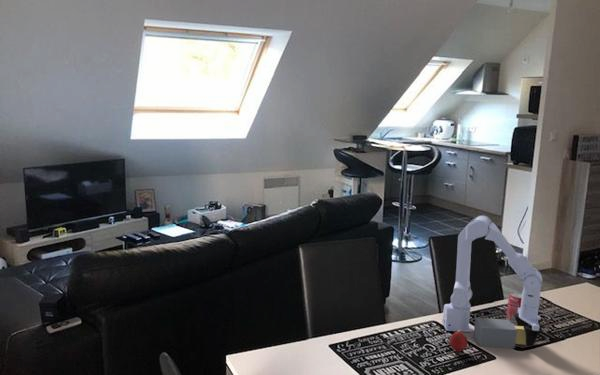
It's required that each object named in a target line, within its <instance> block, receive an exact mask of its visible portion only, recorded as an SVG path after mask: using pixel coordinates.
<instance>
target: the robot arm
mask: <svg viewBox="0 0 600 375" xmlns="http://www.w3.org/2000/svg"><path fill="white" fill-rule="evenodd" d="M483 237H484V240H487V241H492V242H494V244H495V245H496V246H497V247H498V248H499V249H500V250H501V252H503V254H504V255H505V256H506V257H507V258H508V261H507V264H508V265H509V267H511V269H512V270H513V271H514V272H515V273H516V274H517V276H518V277H519V278H520V279H522V285H523V288H522V289H523V290H522V292H521V294H522V299H521V307H520V308H518V313H519V314H518V315H514V317H515V320H516V323H517V326H524V330H525V334H526V345H525V346H526V347H533V346H534V345H535V343H536V340H537V339H538V337H539V336H540V334H541V333H542V332H543V329H542V328H541V327H540V324H539V321H541V316H539V315H538V314H539V308H540V300H541V299H540V297H541V288H542V284H543V276H542V274H541V272H540V271H539V270H538V269H537V268H536V267H534V266H532V264H531V263H530V262H529V258H528V257H527V255H523V254H522V253H520V252H517V251H516V250H515V249H514V248H513V246H512V245H511V244H510V242H509V241H508V240H507V238H506V236H504V234H503V232H501V230H500V229H499V227H498V226H497V225H496V224H495V223H494V222H492V219H491V218H490V217H489V216H487V215H484V214H483V215H478V216H477V217H474V218H472V220H470V222H468V224H467V225H466V226H465V227H464V228H463V229H462V230H461V231H460V233H459V234H458V236H457V248H456V250H457V252H456V269H455V283H454V287H453V292H452V294H451V296H450V303H445V304H444V305H443V311H442V320H441V322H442V325H443V326H444V329H445V330H446V331H447V332H457V331H459V330H461V331H462V333H463V332H464V333H472V332H473V331H472V329H471V326H470V317H471V308H472V305H471V303H470V300H471V299H472V297H473V290H472V289H471V282H470V277H471V276H470V275H471V262H472V259H471V258H472V257H471V255H472V242H473V241H475V240H476V239H479V238H483Z"/></svg>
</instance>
